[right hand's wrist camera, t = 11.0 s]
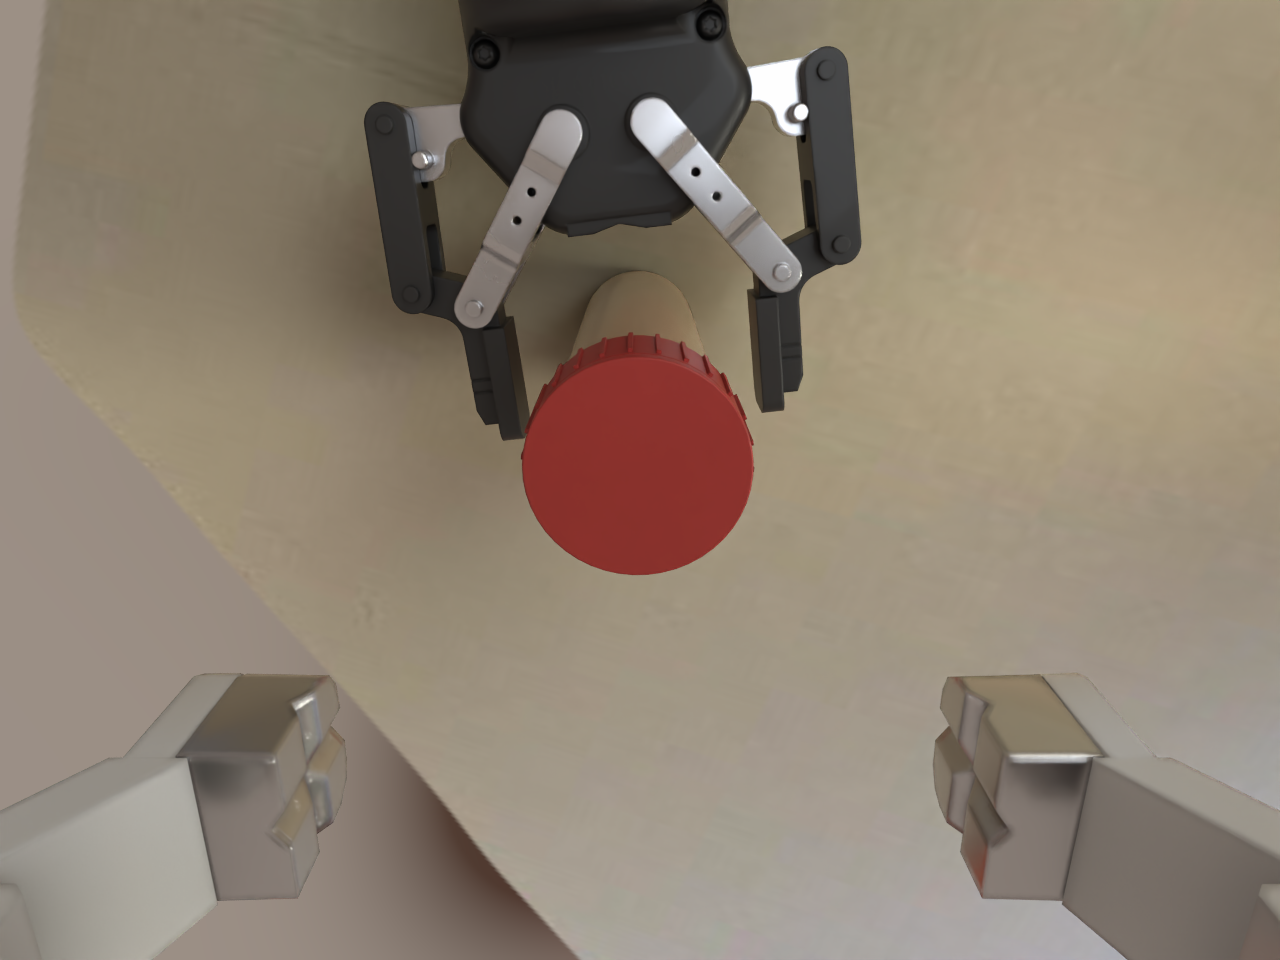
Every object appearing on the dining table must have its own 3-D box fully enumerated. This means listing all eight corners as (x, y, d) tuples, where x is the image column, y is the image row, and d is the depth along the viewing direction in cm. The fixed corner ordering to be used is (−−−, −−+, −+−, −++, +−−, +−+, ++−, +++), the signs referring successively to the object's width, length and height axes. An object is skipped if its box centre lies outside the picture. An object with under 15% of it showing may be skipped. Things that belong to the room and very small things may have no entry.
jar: (702, 281, 34) (756, 386, 19) (681, 387, 36) (714, 567, 20) (593, 261, 34) (554, 350, 18) (576, 369, 36) (526, 537, 20)
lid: (765, 352, 20) (781, 376, 18) (719, 549, 22) (728, 595, 20) (547, 312, 20) (536, 332, 18) (518, 516, 22) (504, 559, 19)
